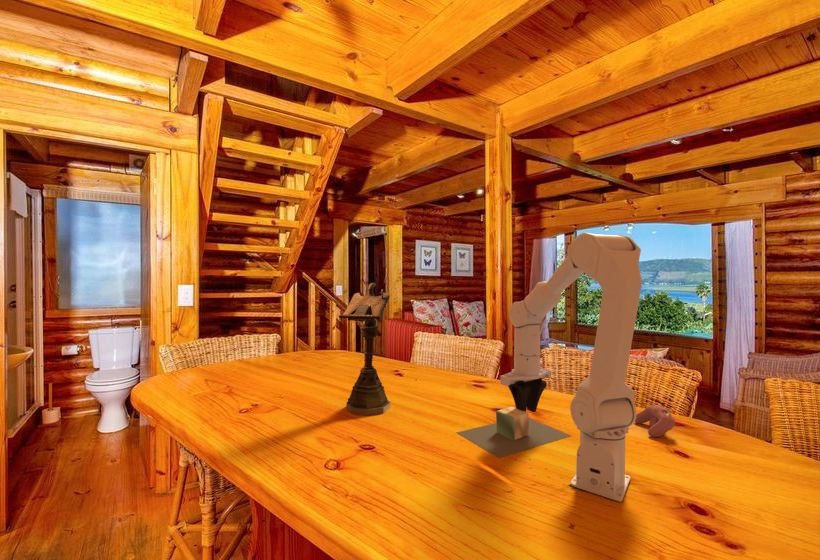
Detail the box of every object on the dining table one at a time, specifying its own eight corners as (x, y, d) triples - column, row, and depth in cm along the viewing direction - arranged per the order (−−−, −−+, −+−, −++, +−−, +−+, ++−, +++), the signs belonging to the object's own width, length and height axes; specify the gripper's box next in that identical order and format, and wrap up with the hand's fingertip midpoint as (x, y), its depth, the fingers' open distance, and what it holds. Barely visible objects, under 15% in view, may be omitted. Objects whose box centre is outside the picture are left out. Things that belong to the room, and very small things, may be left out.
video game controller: (667, 446, 86) (683, 419, 86) (647, 435, 87) (663, 409, 87) (648, 429, 96) (662, 405, 95) (631, 419, 97) (645, 396, 96)
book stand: (378, 425, 92) (380, 281, 92) (330, 418, 96) (332, 280, 96) (400, 404, 108) (402, 280, 108) (358, 399, 112) (359, 280, 112)
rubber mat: (499, 461, 75) (499, 458, 75) (456, 435, 87) (456, 432, 87) (571, 438, 86) (571, 435, 86) (524, 418, 98) (524, 415, 98)
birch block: (528, 434, 86) (512, 440, 83) (512, 427, 90) (496, 432, 88) (528, 412, 86) (512, 417, 83) (512, 406, 90) (496, 410, 87)
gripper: (535, 348, 96) (534, 402, 96) (491, 353, 88) (490, 411, 89) (558, 353, 89) (558, 410, 90) (513, 359, 82) (512, 422, 82)
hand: (526, 412), depth 89 cm, fingers open, 3 cm apart
